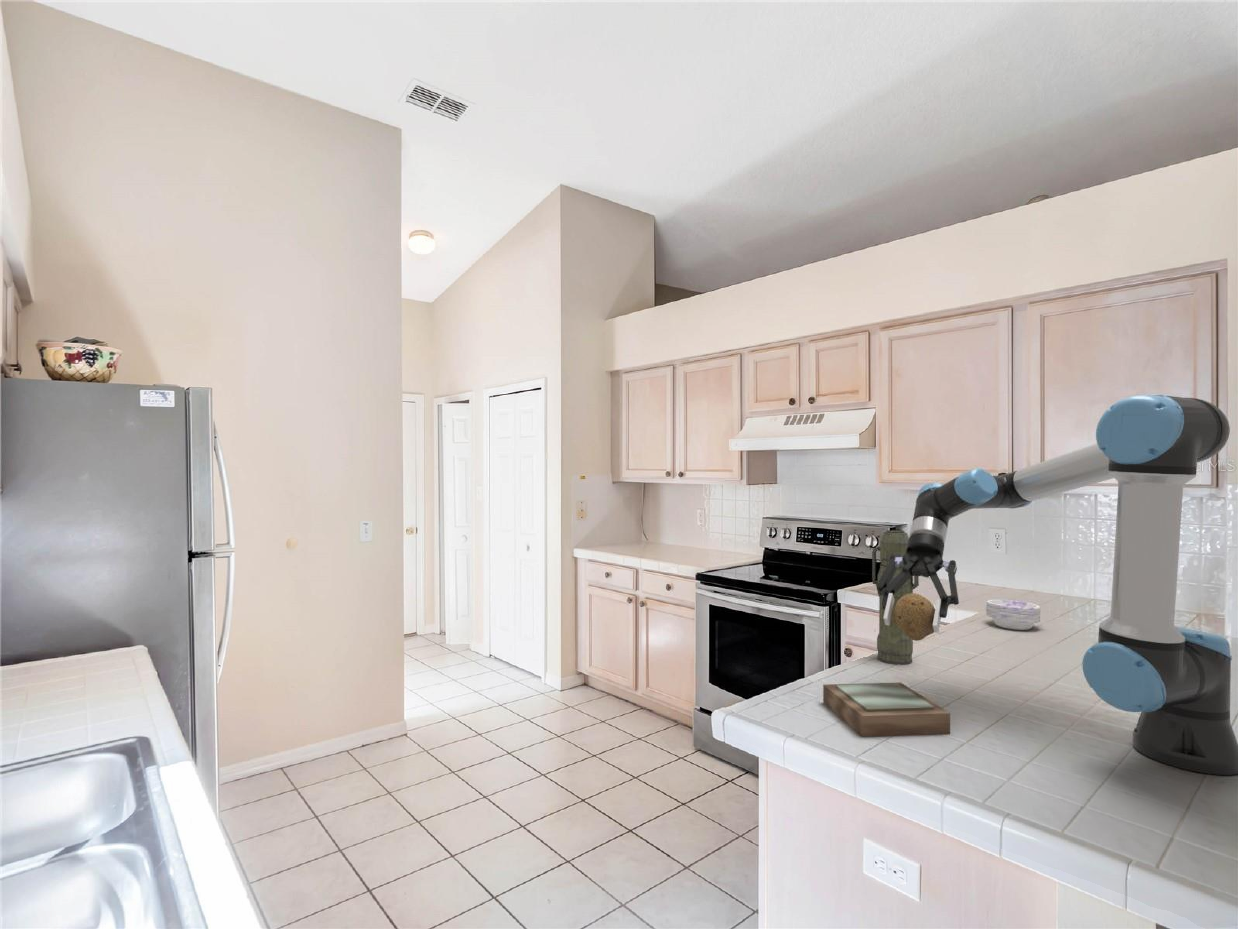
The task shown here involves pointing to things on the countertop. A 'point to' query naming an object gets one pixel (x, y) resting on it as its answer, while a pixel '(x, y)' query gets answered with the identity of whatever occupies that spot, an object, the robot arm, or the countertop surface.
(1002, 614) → the paper bowls
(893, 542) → the thermos
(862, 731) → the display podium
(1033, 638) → the countertop surface
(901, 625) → the brown rounded lump
